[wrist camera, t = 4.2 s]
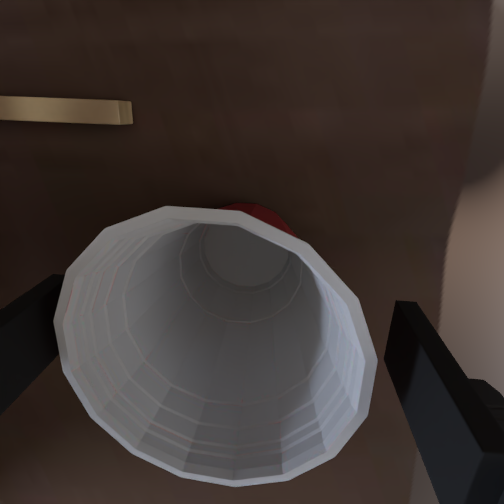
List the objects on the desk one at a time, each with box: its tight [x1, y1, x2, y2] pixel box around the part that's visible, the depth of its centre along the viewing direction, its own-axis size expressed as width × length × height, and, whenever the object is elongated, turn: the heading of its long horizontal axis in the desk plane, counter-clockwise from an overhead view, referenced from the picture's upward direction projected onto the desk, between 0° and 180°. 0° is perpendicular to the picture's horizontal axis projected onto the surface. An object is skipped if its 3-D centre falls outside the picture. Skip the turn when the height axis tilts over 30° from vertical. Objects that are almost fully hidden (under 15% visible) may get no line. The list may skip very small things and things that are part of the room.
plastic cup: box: [53, 203, 378, 487], centre depth 17 cm, size 11×11×12 cm
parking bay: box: [0, 96, 133, 355], centre depth 23 cm, size 14×16×2 cm
